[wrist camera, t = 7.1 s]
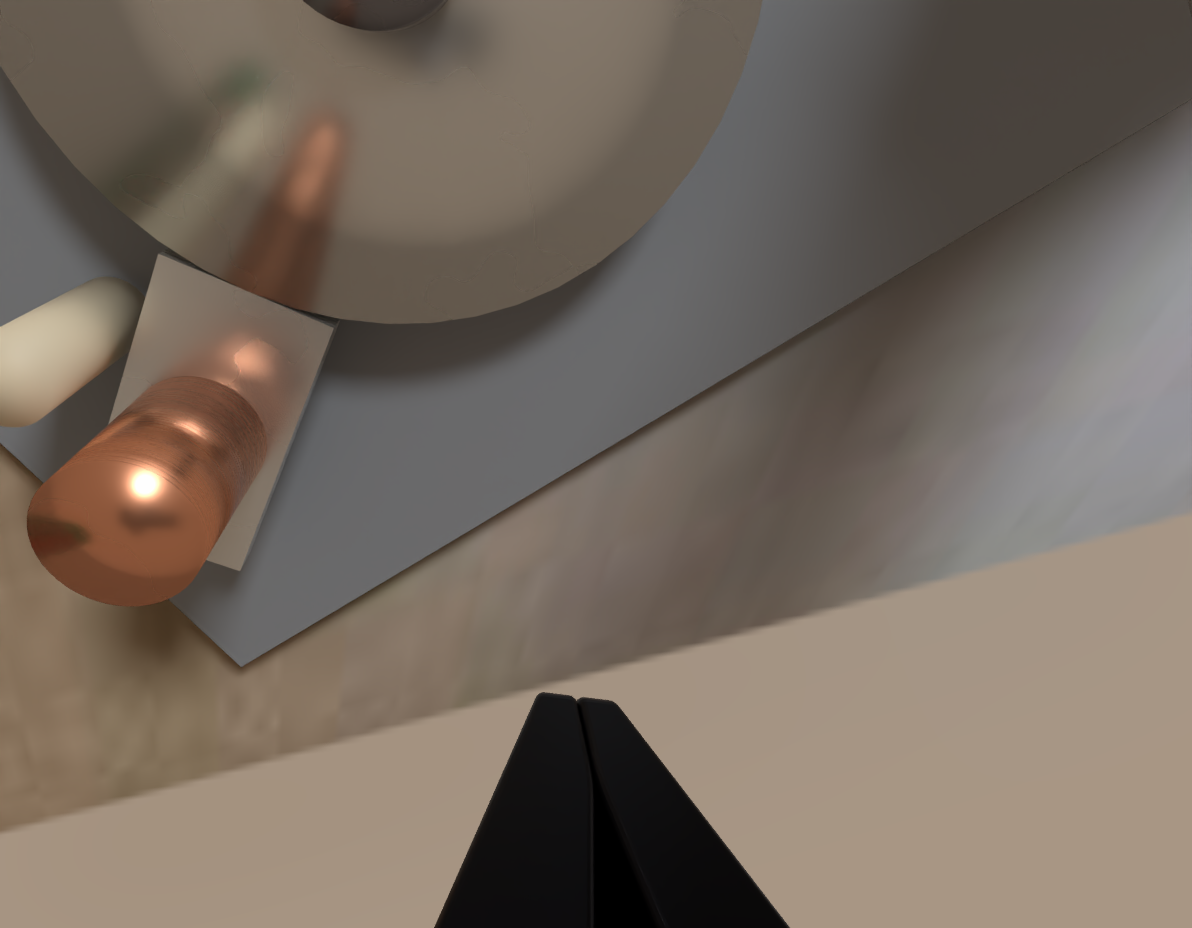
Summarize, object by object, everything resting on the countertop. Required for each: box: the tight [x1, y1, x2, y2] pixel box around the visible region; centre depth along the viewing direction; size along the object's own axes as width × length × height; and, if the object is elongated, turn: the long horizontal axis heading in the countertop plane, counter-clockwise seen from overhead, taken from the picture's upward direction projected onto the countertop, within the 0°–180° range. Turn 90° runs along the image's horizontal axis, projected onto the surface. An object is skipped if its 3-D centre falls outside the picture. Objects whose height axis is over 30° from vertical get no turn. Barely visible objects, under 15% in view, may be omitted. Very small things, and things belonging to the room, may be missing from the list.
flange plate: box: [0, 0, 762, 606], centre depth 12 cm, size 18×12×4 cm
